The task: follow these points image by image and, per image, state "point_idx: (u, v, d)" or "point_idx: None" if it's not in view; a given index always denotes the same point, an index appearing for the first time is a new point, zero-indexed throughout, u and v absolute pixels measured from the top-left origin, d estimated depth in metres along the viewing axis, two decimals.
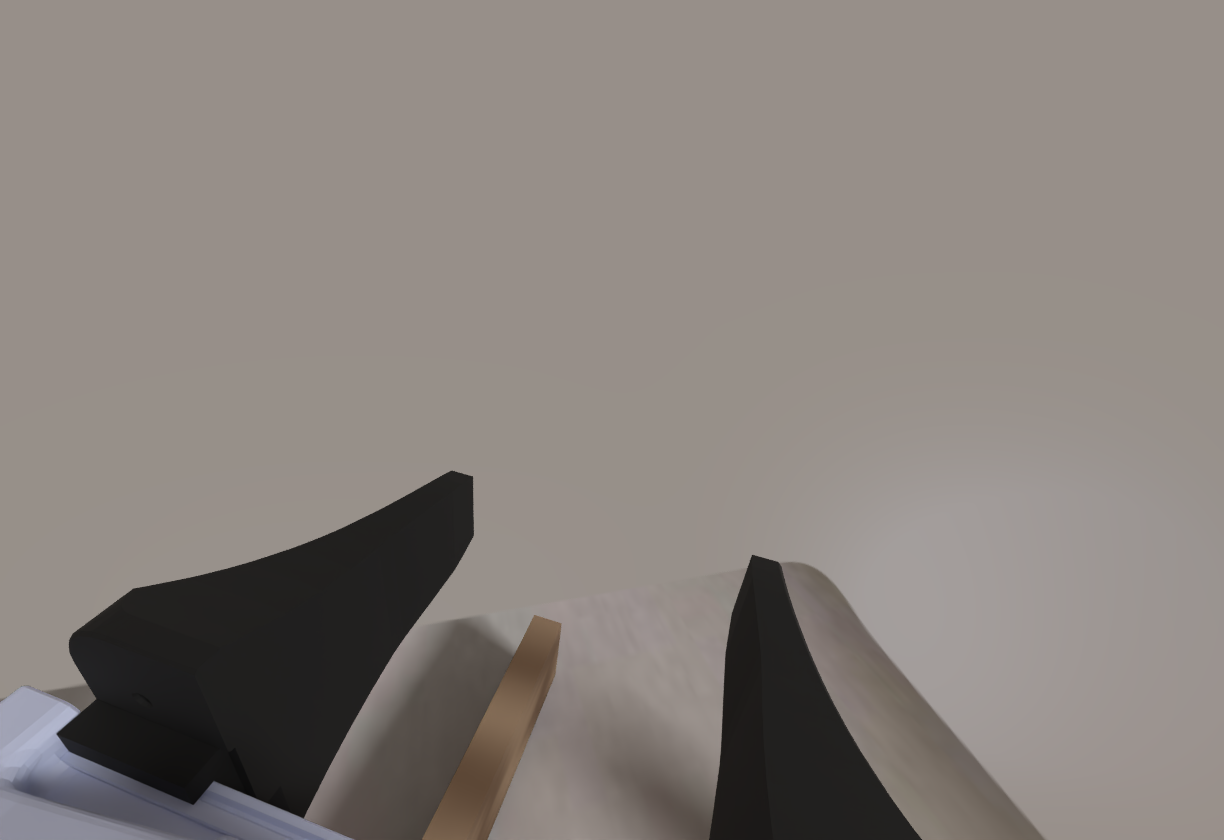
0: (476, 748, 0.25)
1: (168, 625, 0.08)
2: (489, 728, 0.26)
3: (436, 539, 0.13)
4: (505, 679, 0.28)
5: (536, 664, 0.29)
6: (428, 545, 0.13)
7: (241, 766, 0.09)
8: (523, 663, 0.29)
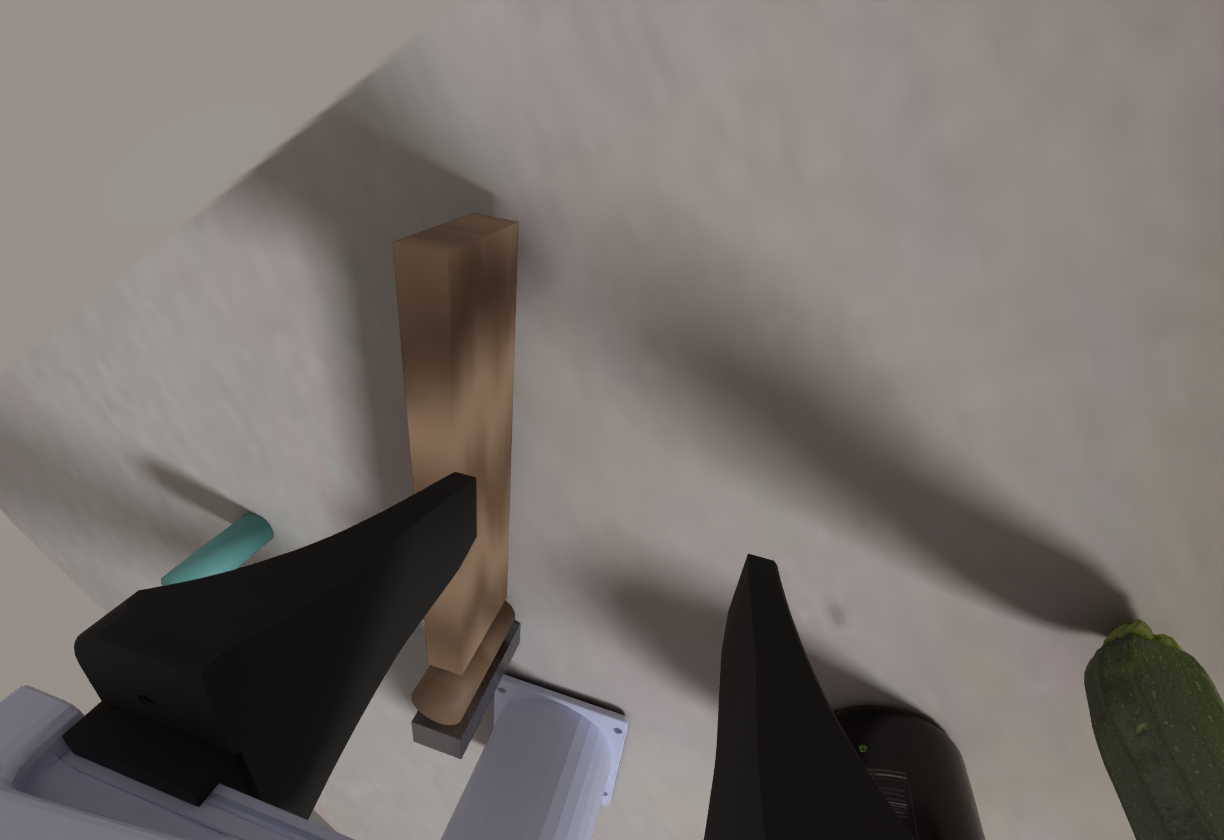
0: (421, 476, 0.19)
1: (173, 627, 0.08)
2: (423, 452, 0.18)
3: (440, 540, 0.13)
4: (408, 382, 0.17)
5: (441, 351, 0.16)
6: (432, 546, 0.13)
7: (246, 768, 0.09)
8: (420, 351, 0.16)
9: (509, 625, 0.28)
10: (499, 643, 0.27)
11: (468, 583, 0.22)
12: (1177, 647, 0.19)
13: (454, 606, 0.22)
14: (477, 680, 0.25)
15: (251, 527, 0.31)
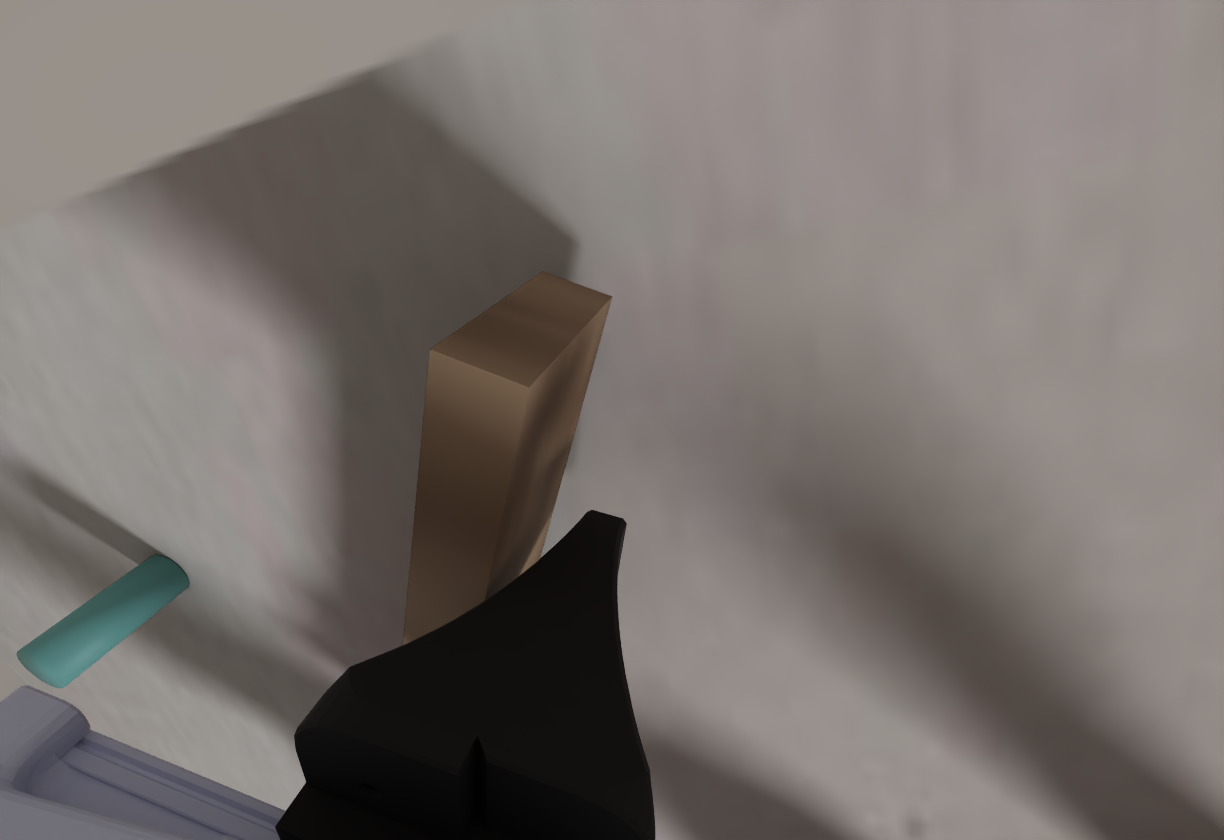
0: None
1: (410, 714, 0.07)
2: (426, 633, 0.12)
3: None
4: (419, 546, 0.10)
5: (484, 520, 0.10)
6: None
7: None
8: (447, 512, 0.10)
9: None
10: None
11: None
12: None
13: None
14: None
15: (159, 578, 0.23)
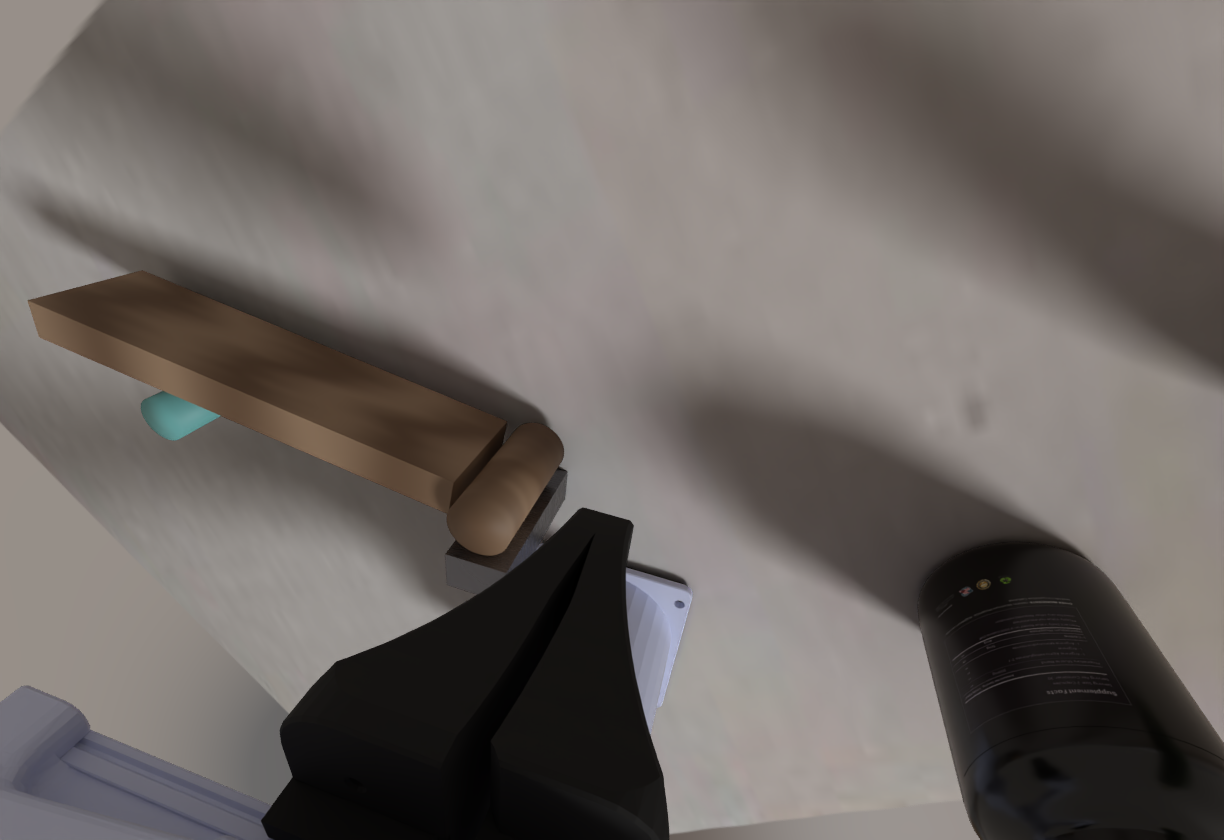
0: (205, 402, 0.21)
1: (395, 708, 0.07)
2: (182, 389, 0.21)
3: None
4: (128, 372, 0.22)
5: (93, 334, 0.21)
6: (574, 589, 0.12)
7: None
8: (101, 352, 0.22)
9: (535, 432, 0.23)
10: (522, 446, 0.22)
11: (342, 420, 0.21)
12: None
13: (346, 440, 0.20)
14: (494, 476, 0.20)
15: None
